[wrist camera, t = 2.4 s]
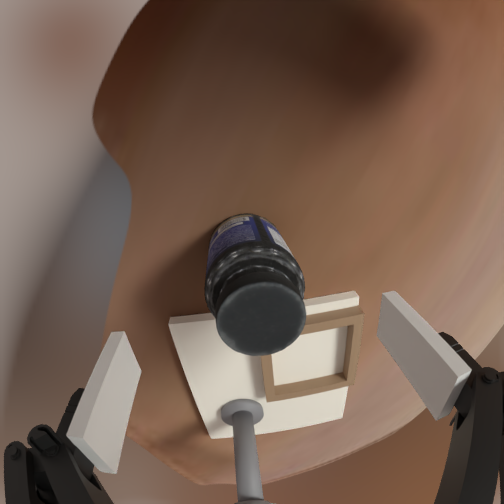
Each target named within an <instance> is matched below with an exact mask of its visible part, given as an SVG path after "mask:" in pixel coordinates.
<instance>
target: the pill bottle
mask: <svg viewBox="0 0 504 504" xmlns="http://www.w3.org/2000/svg"><path fill="white" fill-rule="evenodd" d="M304 291H305V282H304V277H303V273H302V271H301V269H300V267H299V265H298V263H297V261H296V260H295V258H294V257H293V255H292V253H291V252H290V250H289V248H288V247H287V245H286V243H285V241H284V240H283V238H282V237H281V235H280V233H279V232H278V230H277V229H276V227H275V226H274V225H273V224H272V223H271V222H270V221H268V220H267V219H265V218H263V217H260V216H258V215H254V214H239V215H235V216H232V217H230V218H228V219H226V220H225V221H223V222H222V223H221V224H219V226H218V227H217V228H216V229H215V231H214V232H213V234H212V237H211V240H210V243H209V252H208V261H207V271H206V280H205V300H206V303H207V307H208V308H209V310H210V312H211V313H212V315H213V316H214V317H215V319H216V328H217V331H218V334H219V336H220V337H221V339H222V340H223V342H224V343H225V344H226V345H227V346H228V347H230V348H231V349H233V350H234V351H236V352H239V353H242V354H245V355H250V356H264V355H270V354H274V353H277V352H279V351H282V350H283V349H285V348H286V347H288V346H289V345H291V344H292V343H293V342H294V341H295V340H296V339H297V338H298V337H299V335H300V334H301V332H302V331H303V328H304V326H305V322H306V309H305V304H304V301H303V298H304Z"/></svg>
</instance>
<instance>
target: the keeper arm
mask: <svg viewBox="0 0 504 504" xmlns="http://www.w3.org/2000/svg"><path fill="white" fill-rule="evenodd" d="M235 504H271V503H270V502H268V501H264V500H249V501H242V502H238V503H235Z"/></svg>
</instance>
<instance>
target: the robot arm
mask: <svg viewBox="0 0 504 504" xmlns="http://www.w3.org/2000/svg"><path fill="white" fill-rule="evenodd" d="M377 337H378V338H379V339H380V341H381V342H382V343H383V345H384V346H385V348H386V349H387V350H388V352H389V353H390V354H391V356H392V357H393V359H394V360H395V361H396V363H397V364H398V366H399V367H400V369H401V370H402V371H403V373H404V374H405V376H406V377H407V378H408V380H409V381H410V383H411V384H412V386H413V387H414V389H415V390H416V392H417V393H418V394H419V396H420V397H421V399H422V400H423V402H424V403H425V405H426V406H427V408H428V409H429V411H430V412H431V414H432V415H433V417H434V418H435V420H436V421H437V420H439V419H441V418H443V417H445V416H447V415H449V414H450V412H451V410H452V408H453V406H455V407H456V408H457V412H456V414H455V416H454V417H453V419H452V421H451V422H450V426H451V425H452V424H453V422H454V427H453V432H452V438H451V443H450V448H449V452H448V457H447V461H446V465H445V469H444V473H443V476H442V480H441V483H440V487H439V490H438V493H437V496H436V499H435V502H434V504H493V500H494V495H495V489H496V484H497V478H498V471H499V474H500V489H501V490H500V491H501V504H504V372H498V371H496V370H495V369H493V368H490V367H484V368H482V367H481V366H480V365H479V364H478V363H477V362H476V361H475V360H474V359H473V358H472V357H471V356H470V355H469V354H468V352H467V351H466V350H465V349H464V350H463V347H462V346H461V345H460V344H458V342H457V341H456V340H455V339H454V338H453V337H452V336H450V335H448V334H446V333H444V332H441V333H437V332H436V331H435V330H434V329H433V328H432V327H431V326H430V325H429V324H428V323H427V322H426V321H425V320H424V319H423V318H422V317H421V316H420V315H419V314H418V313H417V312H416V311H415V310H414V309H413V308H412V307H411V306H410V305H409V304H408V303H407V302H406V301H405V300H404V299H403V298H402V297H401V296H400V295H399V294H398V293H397V292H396V291H391V292H386V293H382V301H381V309H380V317H379V324H378V331H377ZM140 375H141V369H140V367H139V365H138V362H137V360H136V358H135V355H134V353H133V351H132V348H131V346H130V344H129V341H128V339H127V336H126V334H125V331H120V332H111V334H110V336H109V338H108V340H107V342H106V344H105V346H104V348H103V350H102V352H101V355H100V357H99V359H98V361H97V363H96V365H95V367H94V370H93V372H92V374H91V376H90V379H89V381H88V383H87V385H86V388H85V389H83V388H79V389H78V390H77V391H76V392H75V393H74V394H73V395H72V397H71V399H70V401H69V403H68V406H67V408H66V410H65V413H64V415H63V417H62V419H61V422H60V424H59V427H58V429H57V432H56V433H55V432H54V431H53V430H52V428H51V427H49V426H48V425H42V424H41V425H38V426H36V427H34V428H33V429H32V430H31V431H30V432H29V435H28V437H27V440H28V444H29V445H30V446H31V447H32V448H26V447H25V446H24V445H23V444H22V443H21V442H19V441H14V442H12V443H10V444H9V445H8V446H7V447H6V449H5V453H4V481H5V482H4V484H5V498H6V504H114V503H113V502H112V500H111V499H110V497H109V496H108V494H107V493H106V491H105V490H104V488H103V486H102V485H101V483H100V481H99V480H98V478H97V476H96V475H95V474H94V473H93V468H94V466H96V467H97V468H98V469H99V470H100V471H101V472H106V473H113V474H117V469H118V464H119V460H120V455H121V450H122V446H123V441H124V437H125V433H126V428H127V424H128V420H129V416H130V412H131V408H132V404H133V400H134V396H135V393H136V389H137V385H138V382H139V378H140Z"/></svg>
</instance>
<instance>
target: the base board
mask: <svg viewBox="0 0 504 504" xmlns="http://www.w3.org/2000/svg"><path fill="white" fill-rule="evenodd" d="M303 301H304V304H305V309H306V322H305V326H304V328H303V331H302V332H301V334H300V335H299V337H298V338H297V339H296V340H295V341H294V342H293V343H292V344H291V345H289V346H288V347H286V348H285V349H283V350H282V351H279V352H277V353H274V354H270V355H264V356H250V355H245V354H242V353H239V352H236V351H234V350H233V349H231V348H230V347H228V346H227V345H226V344H225V343H224V342H223V340H222V339H221V337H220V336H219V334H218V331H217V328H216V319H215V317H214V316H213V315H212V313H205V314H196V315H187V316H177V317H170V320H169V324H168V325H169V328H170V331H171V335H172V338H173V341H174V344H175V347H176V350H177V353H178V356H179V358H180V361H181V364H182V367H183V370H184V372H185V375H186V378H187V381H188V383H189V386H190V389H191V391H192V394H193V396H194V399H195V401H196V404H197V406H198V409H199V411H200V414H201V416H202V419H203V421H204V423H205V426H206V428H207V430H208V433H209V435H210V437H211V439H215V438H228V437H233V439H234V454H235V469H236V482H237V494H238V502H242V501H249V500H264V499H263V492H262V485H261V477H260V470H259V462H258V454H257V446H256V438H255V435H257V434H264V433H271V432H278V431H284V430H289V429H295V428H300V427H305V426H310V425H315V424H319V423H324V422H328V421H332V420H336V419H340V418H342V417H343V412H344V407H345V401H346V396H347V390H348V386H350V385H354V382H355V377H356V371H357V365H358V359H359V352H360V346H361V338H362V331H363V323H364V314H365V313H364V312H363V311H362V309H361V308H360V307H359V305H358V304H359V296H358V294H357V293H356V292H355V291H350V292H344V293H339V294H333V295H328V296H322V297H316V298H310V299H304V300H303Z"/></svg>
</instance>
